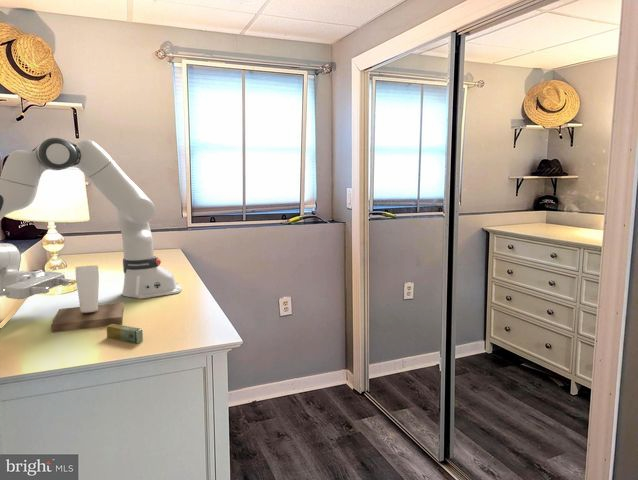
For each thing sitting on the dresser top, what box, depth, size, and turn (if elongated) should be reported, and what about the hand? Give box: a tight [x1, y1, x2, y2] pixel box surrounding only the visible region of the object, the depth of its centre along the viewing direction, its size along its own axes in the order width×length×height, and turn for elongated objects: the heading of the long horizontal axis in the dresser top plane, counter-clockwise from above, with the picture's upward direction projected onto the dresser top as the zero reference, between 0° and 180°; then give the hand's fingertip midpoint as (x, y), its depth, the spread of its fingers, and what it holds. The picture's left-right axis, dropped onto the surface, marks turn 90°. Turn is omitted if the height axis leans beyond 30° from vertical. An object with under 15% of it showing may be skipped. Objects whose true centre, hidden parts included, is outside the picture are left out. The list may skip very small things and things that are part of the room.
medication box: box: [106, 324, 144, 345], centre depth 138 cm, size 12×3×4 cm, turn 66°
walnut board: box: [50, 302, 125, 333], centre depth 154 cm, size 20×16×2 cm
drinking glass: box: [75, 264, 100, 313], centre depth 153 cm, size 7×7×15 cm
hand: (57, 286), depth 154 cm, fingers open, 8 cm apart
